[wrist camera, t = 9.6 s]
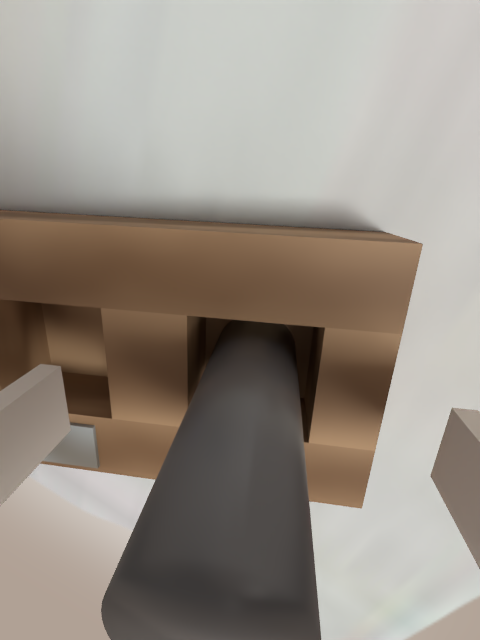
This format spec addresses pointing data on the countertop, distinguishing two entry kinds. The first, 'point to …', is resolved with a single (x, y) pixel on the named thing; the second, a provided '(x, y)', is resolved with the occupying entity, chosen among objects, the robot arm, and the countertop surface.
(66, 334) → the socket block
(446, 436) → the robot arm
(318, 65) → the countertop surface
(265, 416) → the plug
